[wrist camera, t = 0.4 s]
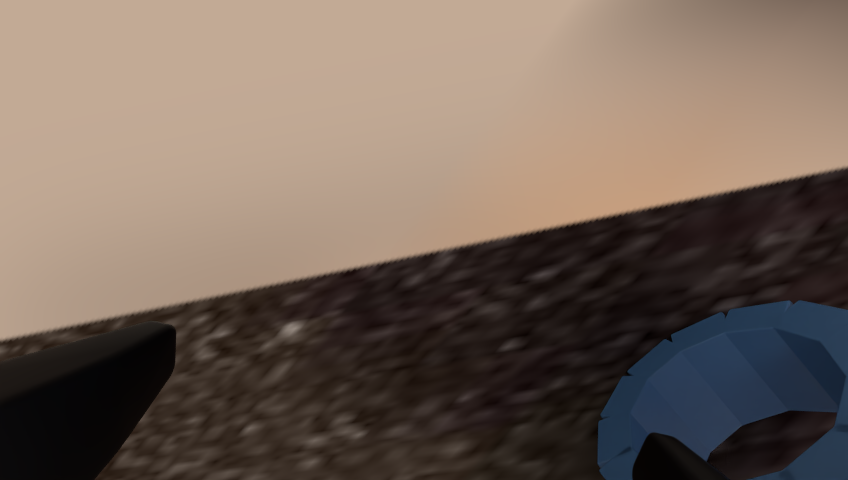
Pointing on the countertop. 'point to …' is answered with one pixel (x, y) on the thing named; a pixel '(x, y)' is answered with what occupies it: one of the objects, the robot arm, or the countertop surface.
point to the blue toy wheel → (735, 386)
